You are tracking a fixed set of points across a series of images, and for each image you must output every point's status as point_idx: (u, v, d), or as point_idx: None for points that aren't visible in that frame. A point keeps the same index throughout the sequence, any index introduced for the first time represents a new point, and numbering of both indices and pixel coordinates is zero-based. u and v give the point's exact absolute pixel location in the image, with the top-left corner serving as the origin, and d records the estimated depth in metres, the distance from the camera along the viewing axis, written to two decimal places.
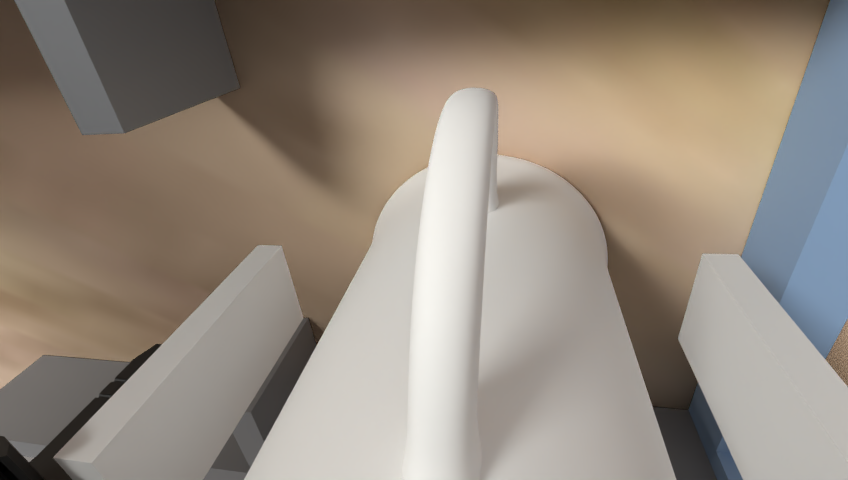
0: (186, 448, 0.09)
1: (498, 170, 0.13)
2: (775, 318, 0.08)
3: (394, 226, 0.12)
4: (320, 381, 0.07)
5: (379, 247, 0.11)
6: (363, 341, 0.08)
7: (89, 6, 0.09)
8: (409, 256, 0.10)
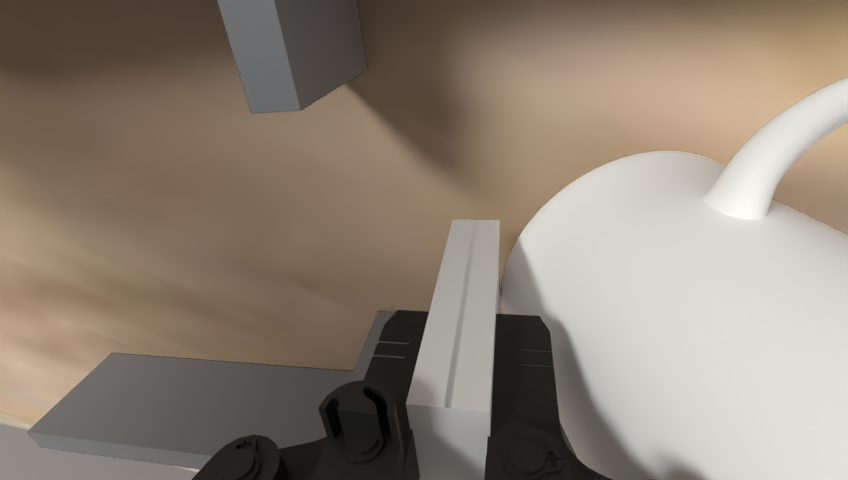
0: None
1: (688, 167, 0.11)
2: (486, 263, 0.10)
3: (628, 251, 0.09)
4: None
5: (640, 281, 0.09)
6: None
7: None
8: (759, 286, 0.07)
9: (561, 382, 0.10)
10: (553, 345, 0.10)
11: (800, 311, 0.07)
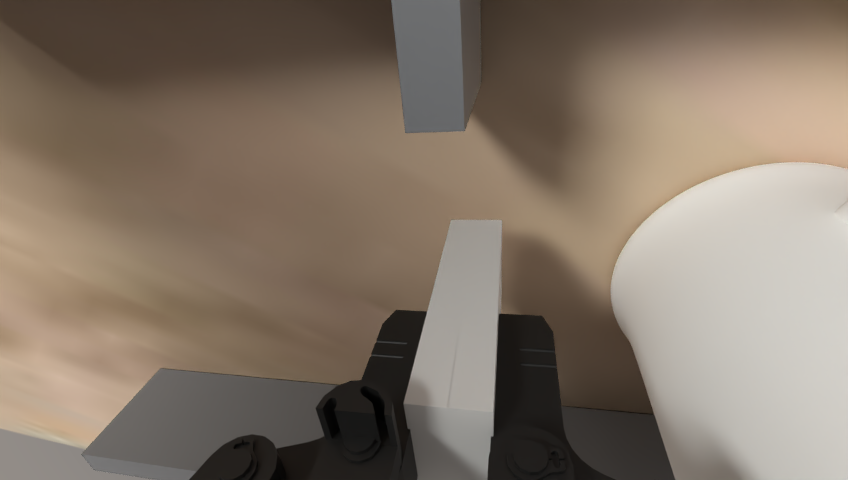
0: None
1: (832, 181, 0.11)
2: (489, 263, 0.10)
3: (741, 249, 0.10)
4: None
5: (745, 275, 0.10)
6: None
7: None
8: None
9: (653, 354, 0.11)
10: (652, 322, 0.12)
11: None
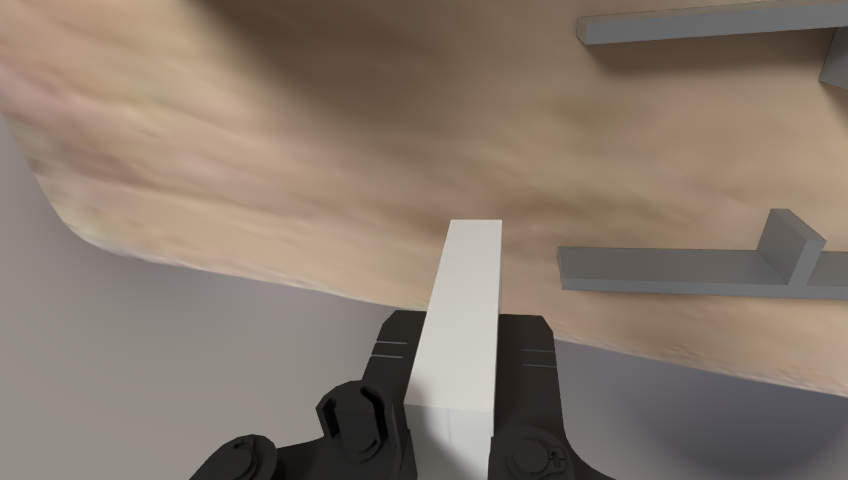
0: None
1: None
2: (488, 263, 0.10)
3: None
4: None
5: None
6: None
7: None
8: None
9: None
10: None
11: None
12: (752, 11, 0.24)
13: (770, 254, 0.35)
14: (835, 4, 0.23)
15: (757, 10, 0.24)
